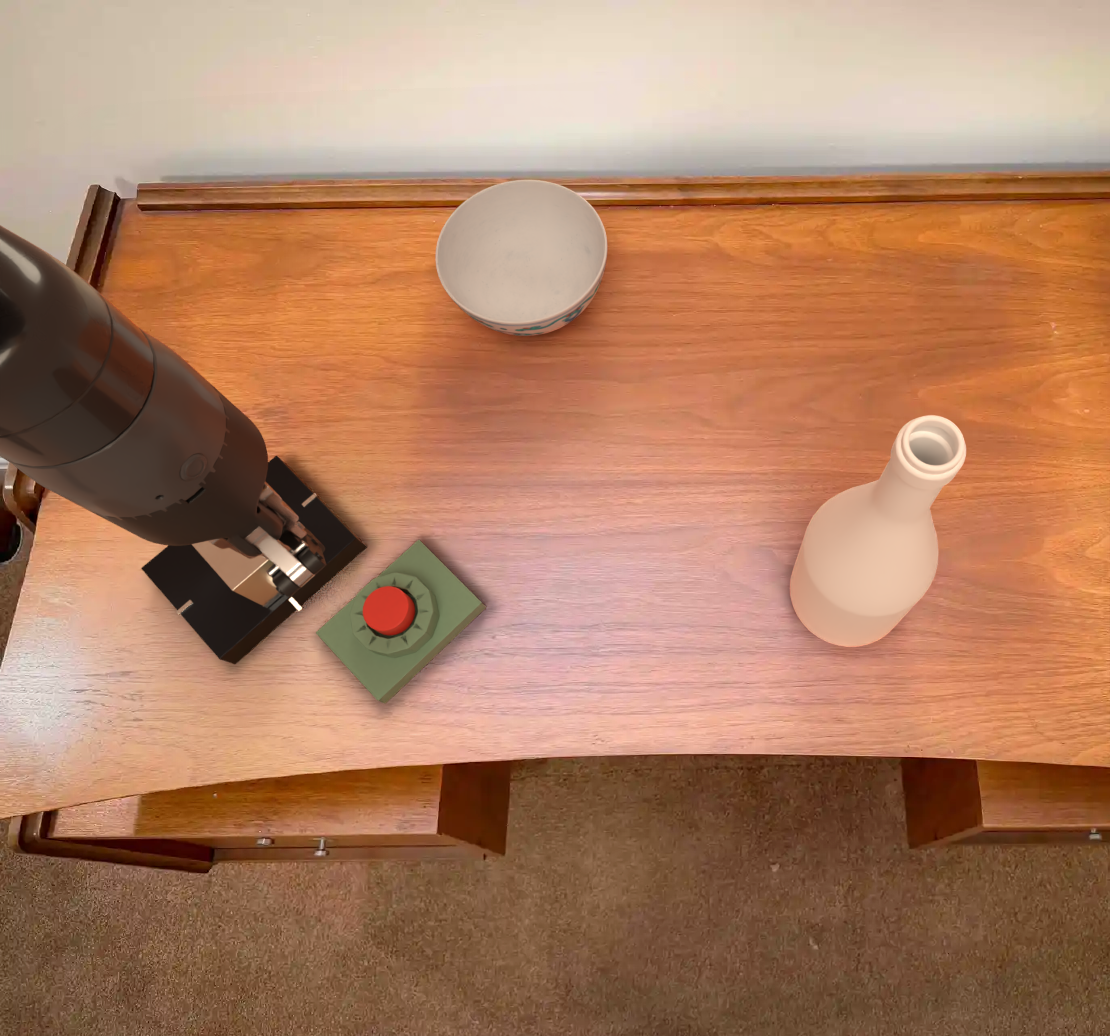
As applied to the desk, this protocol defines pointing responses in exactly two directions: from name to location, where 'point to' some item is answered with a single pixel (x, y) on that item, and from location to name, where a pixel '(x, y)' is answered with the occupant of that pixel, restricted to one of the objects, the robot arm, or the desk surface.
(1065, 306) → the desk surface
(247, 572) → the silver metal block
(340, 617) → the green rectangular block
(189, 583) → the black flat square plate
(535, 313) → the chinaware
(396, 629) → the button
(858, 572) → the beige ceramic bottle
